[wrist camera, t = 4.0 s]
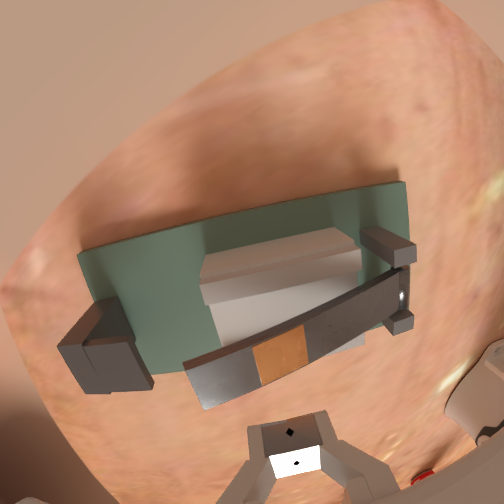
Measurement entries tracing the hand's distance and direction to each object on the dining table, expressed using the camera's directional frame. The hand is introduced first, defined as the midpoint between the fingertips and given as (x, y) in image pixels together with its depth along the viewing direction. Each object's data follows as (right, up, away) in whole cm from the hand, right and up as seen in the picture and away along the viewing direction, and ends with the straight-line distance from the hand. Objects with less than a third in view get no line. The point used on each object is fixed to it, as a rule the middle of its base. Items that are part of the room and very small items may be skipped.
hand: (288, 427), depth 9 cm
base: (-1, +4, +14) cm, 15 cm away
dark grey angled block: (-12, +1, +13) cm, 18 cm away
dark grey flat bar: (+2, +2, +7) cm, 8 cm away
